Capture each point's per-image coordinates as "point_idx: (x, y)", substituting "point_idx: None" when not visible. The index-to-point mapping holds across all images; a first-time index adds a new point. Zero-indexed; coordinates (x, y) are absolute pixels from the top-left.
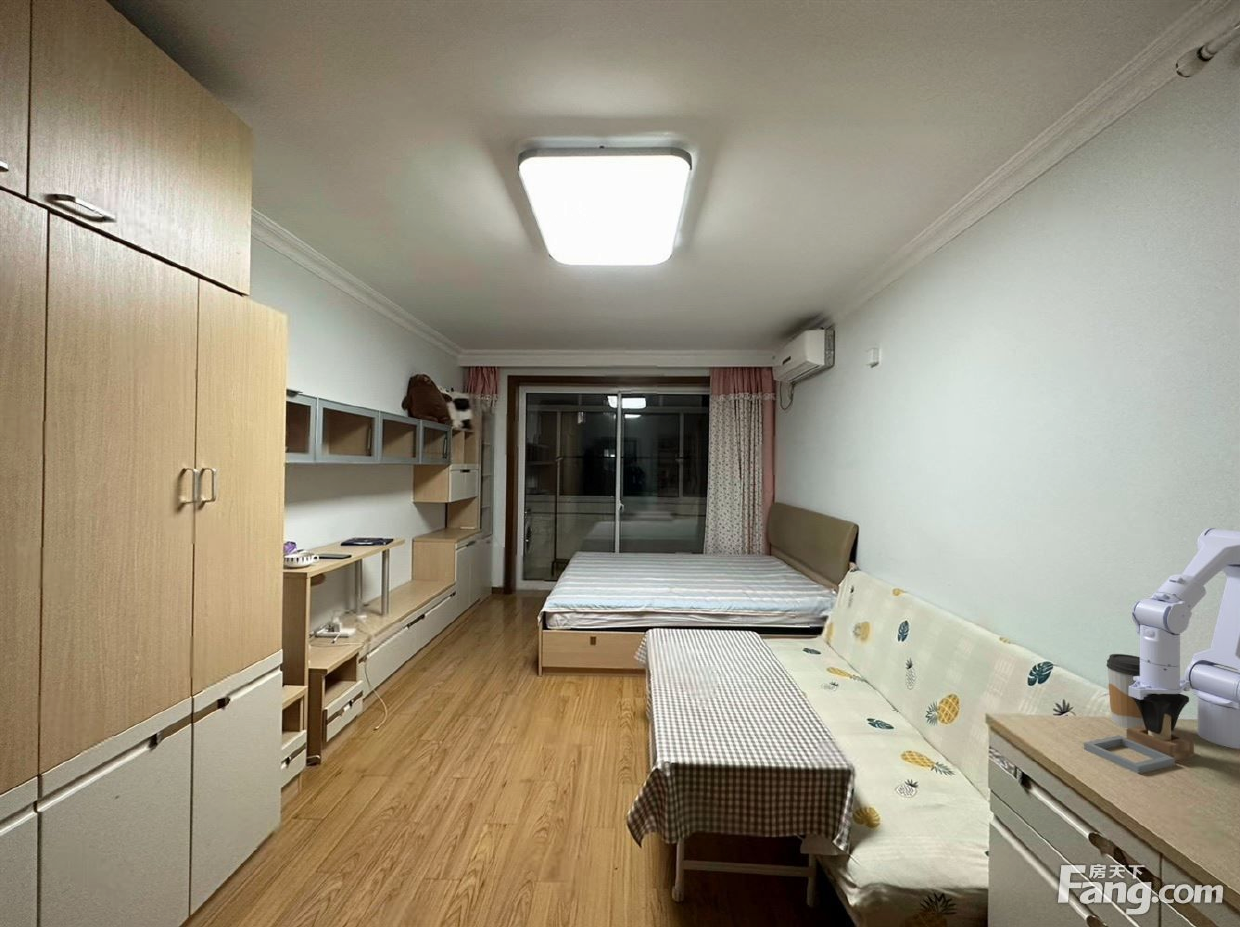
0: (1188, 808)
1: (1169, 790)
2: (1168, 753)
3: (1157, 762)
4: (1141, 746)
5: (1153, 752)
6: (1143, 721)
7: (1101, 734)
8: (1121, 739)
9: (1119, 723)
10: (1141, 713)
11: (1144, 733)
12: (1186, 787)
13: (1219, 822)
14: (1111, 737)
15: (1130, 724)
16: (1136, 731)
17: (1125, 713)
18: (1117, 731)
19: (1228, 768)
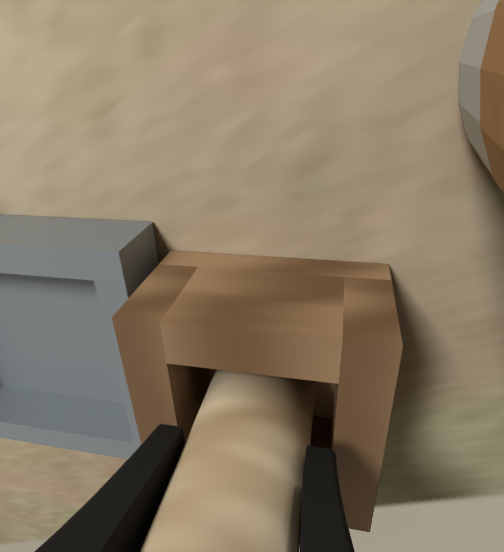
0: (4, 490)
1: (32, 448)
2: None
3: (52, 445)
4: (116, 368)
5: (127, 407)
6: (128, 461)
7: (211, 57)
8: (98, 276)
9: (471, 36)
10: (64, 528)
11: (171, 391)
12: (104, 464)
13: (26, 529)
14: (43, 250)
15: (473, 138)
16: (146, 359)
17: (486, 120)
18: (402, 54)
19: (438, 496)
